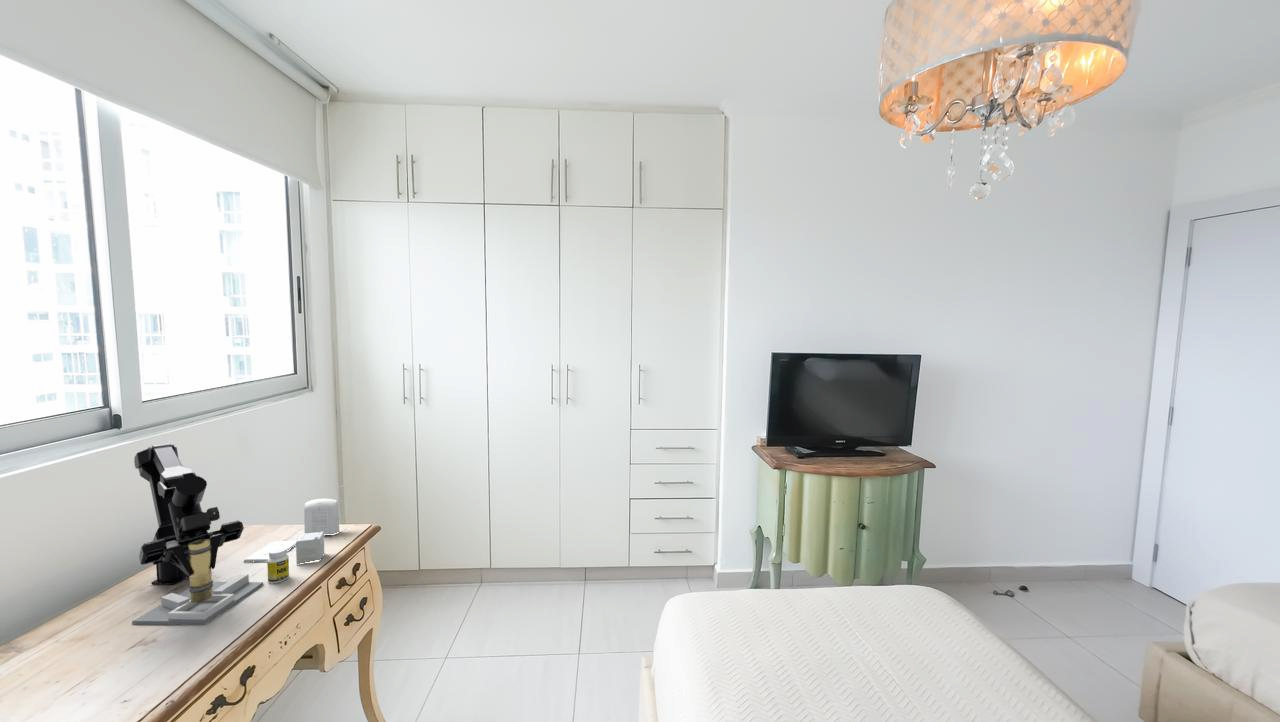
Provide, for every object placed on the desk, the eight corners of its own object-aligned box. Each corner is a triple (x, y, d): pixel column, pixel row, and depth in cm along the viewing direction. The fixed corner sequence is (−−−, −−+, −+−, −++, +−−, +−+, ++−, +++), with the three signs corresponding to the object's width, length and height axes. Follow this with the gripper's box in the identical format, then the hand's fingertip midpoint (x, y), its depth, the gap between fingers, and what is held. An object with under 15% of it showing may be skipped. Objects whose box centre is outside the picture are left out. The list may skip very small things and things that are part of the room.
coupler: (184, 604, 117) (182, 547, 117) (196, 594, 122) (194, 539, 121) (206, 602, 118) (204, 545, 118) (217, 592, 123) (215, 537, 122)
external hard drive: (299, 545, 159) (271, 564, 146) (272, 546, 158) (243, 564, 146) (298, 541, 159) (271, 558, 146) (272, 541, 158) (243, 558, 146)
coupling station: (132, 624, 115) (131, 611, 115) (200, 584, 133) (199, 574, 133) (205, 624, 115) (204, 612, 115) (263, 585, 133) (262, 574, 133)
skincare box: (301, 557, 150) (300, 533, 149) (324, 553, 152) (324, 530, 152) (296, 565, 144) (295, 541, 144) (320, 562, 147) (319, 538, 146)
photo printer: (341, 530, 169) (340, 495, 169) (336, 536, 165) (335, 500, 164) (308, 533, 167) (306, 497, 166) (302, 538, 163) (301, 502, 162)
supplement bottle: (277, 584, 133) (276, 554, 133) (263, 583, 134) (262, 553, 134) (293, 576, 138) (292, 547, 138) (279, 574, 139) (278, 545, 139)
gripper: (139, 510, 113) (152, 571, 108) (239, 489, 128) (256, 541, 123) (133, 535, 118) (146, 594, 113) (231, 512, 133) (246, 563, 128)
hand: (202, 571), depth 119 cm, fingers closed on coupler, 4 cm apart
